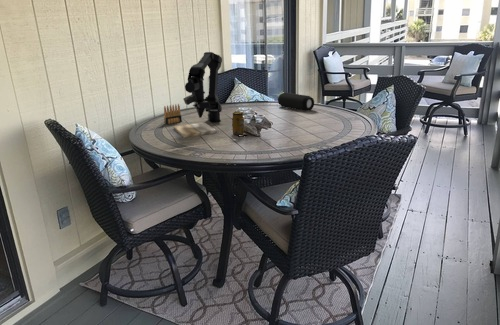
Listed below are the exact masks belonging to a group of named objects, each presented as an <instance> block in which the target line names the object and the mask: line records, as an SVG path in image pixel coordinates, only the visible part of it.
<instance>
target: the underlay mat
mask: <svg viewBox="0 0 500 325" xmlns="http://www.w3.org/2000/svg"><path fill="white" fill-rule="evenodd" d="M167 130H168V131H169V132H170V133H171V134H173V135H174V136H175V137H176V138H178V139H179V140H181V139H189V138H195V137H202V136H209V135H214V134H221V132H220V131H219V130H217V133H211V134H204V135H198V136H191V137H185V138H184V137H183V136H182V135H180V134H179V133H178V132H177V131H175V130H174V128H170V129H169V128H168V129H167Z"/></svg>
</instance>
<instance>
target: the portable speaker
mask: <svg viewBox="0 0 500 325" xmlns="http://www.w3.org/2000/svg"><path fill="white" fill-rule="evenodd" d="M277 103H278V104H279V106H281V107H283V108H286V107H288V108H287V109H292V108H293V110H297V109H298V110H299V111H305V112H308V111H311V110H313V108H314V105H315V100H314V98H313V97H312V96H311V95H305V94H300V93H299V94H298V93H292V92H283V93H282V92H281V93H280V94H279V95H278V98H277Z"/></svg>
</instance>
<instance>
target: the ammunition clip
mask: <svg viewBox="0 0 500 325" xmlns="http://www.w3.org/2000/svg"><path fill="white" fill-rule="evenodd" d="M163 110H164V111H163V116H164V117H163V121H164V122H163V123H164V125H171V124H176V123H183V119H182V113H181V106H180V103H177V104H176V103H175V104H172V105H171V104H170V105H169V106H168V104H167V105H164V107H163Z"/></svg>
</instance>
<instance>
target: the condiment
mask: <svg viewBox="0 0 500 325" xmlns="http://www.w3.org/2000/svg"><path fill="white" fill-rule="evenodd" d="M243 115H244V113H243V112H241V111H233V113H232V119H231V120H232V121H231V123H232V125H231V126H232V132H231V134H232V135H234V136H235V137H237V136H239V135H243V134H245V128H244V127H245V124H244V123H245V122H244V116H243Z"/></svg>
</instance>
